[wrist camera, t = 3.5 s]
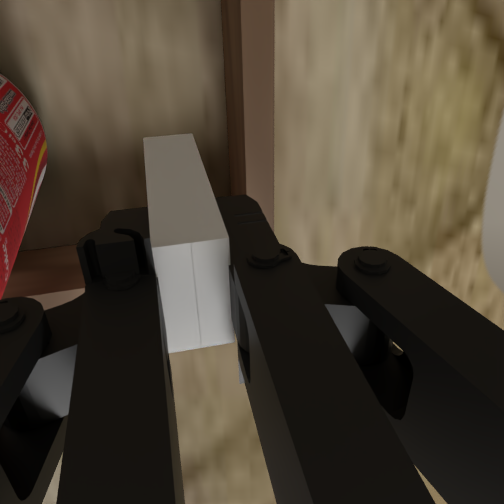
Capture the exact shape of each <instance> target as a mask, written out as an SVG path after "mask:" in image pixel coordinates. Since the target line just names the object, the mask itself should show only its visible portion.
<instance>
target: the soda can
mask: <svg viewBox="0 0 504 504" xmlns="http://www.w3.org/2000/svg"><path fill="white" fill-rule="evenodd" d="M46 166H47V141H46V136H45V132H44V129H43V126H42V123H41V121H40V119H39V117H38V115H37V113H36V111H35V110H34V108H33V106H32V105H31V103H30V102H29V101H28V99H27V98H26V97H25V95H24V94H23V93H22V92H21V91H20V90H19V89H18V88H17V87H16V86H15V85H14V84H13V83H12V82H11V81H10V80H8V79H7V78H6V77H5V76H3V75H2V74H0V300H1V298H2V296H3V293H4V290H5V287H6V285H7V282H8V279H9V276H10V273H11V270H12V267H13V265H14V262H15V259H16V256H17V253H18V250H19V247H20V244H21V242H22V239H23V236H24V233H25V230H26V227H27V224H28V221H29V218H30V215H31V213H32V210H33V207H34V204H35V201H36V198H37V195H38V192H39V189H40V186H41V183H42V180H43V177H44V174H45V170H46Z"/></svg>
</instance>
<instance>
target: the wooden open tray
mask: <svg viewBox="0 0 504 504" xmlns="http://www.w3.org/2000/svg"><path fill="white" fill-rule="evenodd" d="M221 12H222V31H223V51H224V70H225V90H226V110H227V129H228V149H229V169H230V188H231V196H235V195H244V194H246V195H248V196H249V197H251V198H252V199H254V200H255V201H257V202H258V204H259V206H260V207H261V209H262V211H263V213H264V215H265V217H266V219H267V221H268V223H269V225H270V227H271V229H272V230H273V232H274V0H221ZM76 246H77V244H76V245H68V246H60V247H53V248H45V249H37V250H30V251H22V252H18V253H17V256H16V259H15V262H14V265H13V267H12V270H11V273H10V276H9V279H8V282H7V285H6V287H5V290H4V293H3V296H2V298H1V299H5V298H12V297H20V296H21V297H28V298H33V299H35V300H37V301H39V302H40V303H41V304H42V306H43V309H44V310H47V309H50V308H53V307H56V306H59V305H62V304H64V303H67V302H69V301H71V300H74V299H75V298H77V297H79V296H80V295H82V294H83V293H84V292H85V281H84V277H83V273H82V269H81V265H80V262H79V258H78V254H77V250H76Z"/></svg>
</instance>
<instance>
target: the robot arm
mask: <svg viewBox="0 0 504 504" xmlns="http://www.w3.org/2000/svg"><path fill="white" fill-rule="evenodd" d="M143 144H144V158H145V172H146V186H147V200H148V207H142V208H134V209H125V210H116V211H110V212H109V213H108V215H107V216H106V217H105V218H104V219H103V220H102V221H101V227H100V229H98V230H96V231H94V232H91V233H89V234H87V235H86V236H85V237H83V238H82V239H81V240H80V241H79V243H78V244H77V246H76V250H77V254H78V258H79V262H80V265H81V269H82V273H83V277H84V281H85V292H84V293H83V294H82V295H80V296H79V297H77V298H75V299H74V300H71V301H69V302H67V303H64V304H62V305H59V306H56V307H53V308H50V309H47V310H44V309H43V306H42V304H41V303H40V302H39V301H37V300H35V299H33V298H28V297H21V296H20V297H12V298H5V299H1V300H0V504H42V502H43V499H44V497H45V494H46V492H47V490H48V487H49V485H50V482H51V480H52V477H53V475H54V472H55V470H56V467H57V465H58V462H59V460H60V457H61V455H62V452H63V458H62V465H61V473H60V481H59V488H58V496H57V503H56V504H185V500H184V490H183V480H182V470H181V461H180V451H179V441H178V432H177V422H176V412H175V402H174V393H173V383H172V373H171V366H170V360H169V354H168V353H173V352H179V351H185V350H191V349H197V348H203V347H209V346H215V345H221V344H227V343H233V342H235V338H234V330H235V334H236V337H237V342H238V362H239V382H240V384H241V383H245V386H246V389H247V393H248V397H249V401H250V405H251V408H252V412H253V416H254V420H255V423H256V427H257V431H258V435H259V438H260V442H261V446H262V450H263V454H264V457H265V461H266V465H267V469H268V472H269V476H270V480H271V484H272V487H273V491H274V495H275V499H276V503H277V504H435V502H434V500H433V498H432V496H431V495H430V493H429V491H428V489H427V487H426V486H425V484H424V482H423V480H422V478H421V477H420V475H419V473H418V471H417V469H416V468H415V466H416V467H417V468H418V470H419V471H420V472H421V473H422V474H423V475H424V477H425V478H426V479H427V480H428V481H429V482H430V484H431V485H432V486H433V487H434V488H435V489H436V491H437V492H438V493H439V494H440V495H441V496H442V498H443V499H444V500H445V501H446V502H447V503H448V504H504V330H502V329H501V328H499V327H498V326H497V325H495V324H494V323H492V322H491V321H490V320H488V319H487V318H485V317H484V316H483V315H481V314H480V313H478V312H477V311H475V310H474V309H473V308H471V307H470V306H468V305H467V304H466V303H464V302H463V301H461V300H460V299H459V298H457V297H456V296H454V295H453V294H452V293H450V292H449V291H447V290H446V289H444V288H443V287H442V286H440V285H439V284H437V283H436V282H435V281H433V280H432V279H430V278H429V277H428V276H426V275H425V274H423V273H422V272H420V271H419V270H418V269H416V268H415V267H413V266H412V265H411V264H409V263H408V262H406V261H405V260H404V259H402V258H401V257H399V256H398V255H396V254H394V253H392V252H390V251H388V250H385V249H381V248H377V247H371V246H370V247H368V246H365V247H357V248H351V249H349V250H347V251H345V252H343V253H342V254H341V256H340V257H339V258H338V266H337V267H333V266H317V265H309V264H305V263H301V261H300V259H299V257H298V256H297V254H296V253H295V252H294V251H293V250H292V249H291V248H289V247H287V246H284V245H282V244H279V242H278V240H277V238H276V236H275V234H274V232H273V230H272V229H271V227H270V225H269V223H268V221H267V219H266V217H265V215H264V213H263V211H262V209H261V207H260V206H259V204H258V202H257V201H255V200H254V199H252V198H251V197H249V196H248V195H246V194H244V195H235V196H226V197H218V198H215V197H214V194H213V191H212V188H211V185H210V182H209V180H208V177H207V174H206V171H205V168H204V165H203V163H202V160H201V157H200V154H199V151H198V148H197V146H196V143H195V140H194V137H193V134H192V133H189V134H178V135H167V136H155V137H144V138H143ZM393 342H394V343H396V344H397V345H398V346H399V347H400V348H401V349H402V350H403V351H401V350H400V349H398V348H397V347H396V346H395V345H394V344H393ZM414 465H415V466H414Z"/></svg>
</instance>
